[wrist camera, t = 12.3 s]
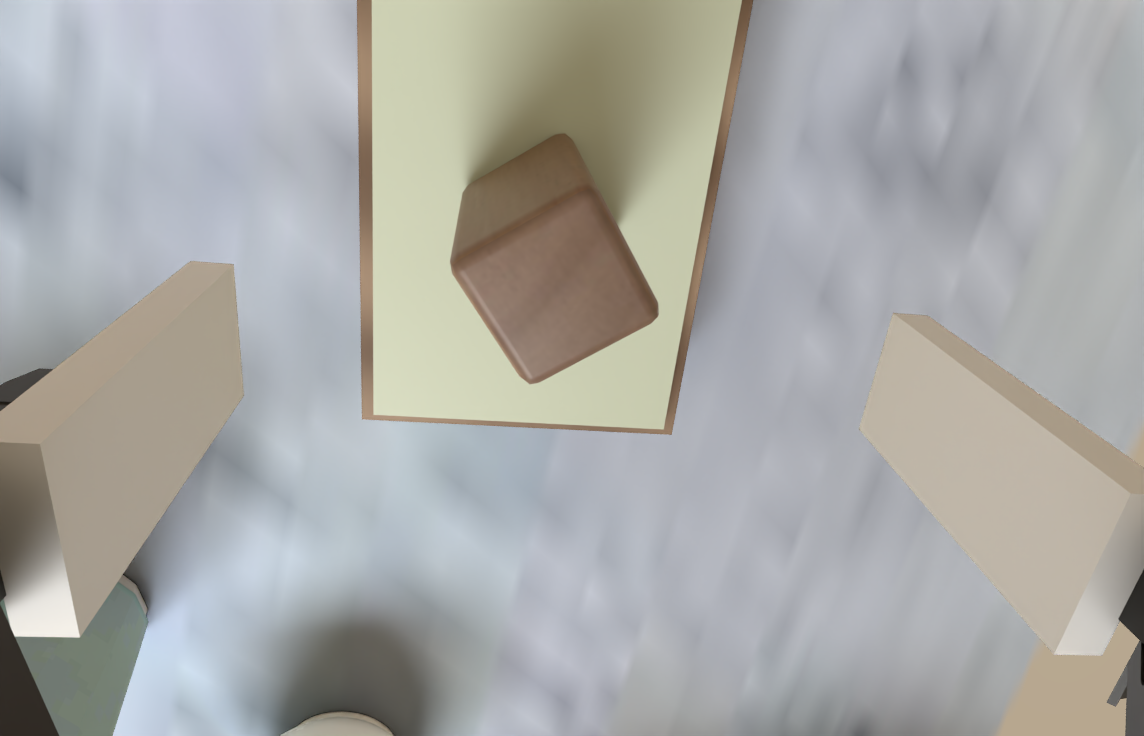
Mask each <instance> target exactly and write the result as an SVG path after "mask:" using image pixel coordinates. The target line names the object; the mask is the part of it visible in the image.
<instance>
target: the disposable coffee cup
mask: <svg viewBox="0 0 1144 736" xmlns="http://www.w3.org/2000/svg"><path fill="white" fill-rule="evenodd" d="M0 605H1V607H2V609H3V611H4V614H5V616H6V618H7V620H8V623H9V625H10V622H9V618H8V615H7V611H6V607H5V603H4V599H3V600H2V601H1V602H0ZM147 610H148V609H147V607H146V605H145V602H144V600H143V598H142V596H141V594H140V592H139V590H138V588H137V585H136V584H135V583H133V582H132V581H130V580H129V579H128V578H126V577H125V576H124V575H122V576H121V578H120V579H119V581H118V582H117V584H116V585H115V587H114V588H113V589H112V591H111V592H110V594H109V595H108V597H107V598H106V600H105V601H104V603H103V604H102V606H101V607H100V609H99V610H98V612H97V613H96V615H95V616H94V618H93V619H92V620H91V622H90V623H89V625H88V626H87V628H86V629H85V631H84V632H83V634H82V635H81V637H80V638H78V637H22V636H15V638H16V640H17V643H18V645H19V647H20V649H21V651H22V654H23V656H24V658H25V660H26V663H27V665H28V667H29V669H30V671H31V674H32V676H33V678H34V680H35V683H36V685H37V687H38V689H39V691H40V694H41V696H42V698H43V700H44V703H45V705H46V707H47V709H48V712H49V714H50V716H51V718H52V720H53V723H54V725H55V727H56V729H57V732H58V734H59V736H113V732H114V729H115V726H116V723H117V720H118V717H119V714H120V710H121V707H122V704H123V701H124V698H125V695H126V692H127V688H128V685H129V682H130V679H131V676H132V673H133V670H134V666H135V663H136V660H137V657H138V654H139V651H140V648H141V644H142V641H143V638H144V634H145V631H146V628H147V624H148V620H147V617H146V613H147ZM10 627H11V626H10Z"/></svg>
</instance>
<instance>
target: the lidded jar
mask: <svg viewBox="0 0 1144 736" xmlns="http://www.w3.org/2000/svg"><path fill="white" fill-rule="evenodd" d="M280 736H394V735H393V733H392V732H391V731H390V730H389V729H388V728H387V727H386V726H385V725H384V724H383V723H381V722H380V721H378V720H376V719H374V718H372V717H369V716H367V715H363V714H359V713H354V712H342V711H338V712H328V713H323V714H319V715H316V716H313V717H311V718H309V719H307V720H305V721H303V722H302V723H300V724H299V725H298V726H297V727H295V728H293V729H291V730H289V731H287V732H285V733H283V734H282V735H280Z"/></svg>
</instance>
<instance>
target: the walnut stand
mask: <svg viewBox="0 0 1144 736" xmlns="http://www.w3.org/2000/svg"><path fill="white" fill-rule="evenodd" d="M752 4H753V0H357V36H358V123H359V209H360V295H361V381H362V419H368V420H388V421H408V422H428V423H448V424H468V425H488V426H508V427H528V428H549V429H569V430H589V431H609V432H629V433H649V434H669V435H672V429H673V424H674V419H675V413H676V408H677V403H678V398H679V392H680V387H681V382H682V376H683V371H684V366H685V360H686V355H687V350H688V344H689V339H690V334H691V328H692V323H693V318H694V313H695V307H696V302H697V297H698V291H699V286H700V281H701V275H702V270H703V265H704V259H705V254H706V249H707V243H708V238H709V233H710V227H711V222H712V217H713V212H714V206H715V201H716V196H717V190H718V185H719V180H720V174H721V169H722V164H723V158H724V153H725V148H726V142H727V137H728V132H729V126H730V121H731V116H732V111H733V105H734V100H735V95H736V89H737V84H738V79H739V73H740V68H741V63H742V57H743V52H744V47H745V41H746V36H747V31H748V26H749V20H750V15H751V10H752ZM563 133H565V134H566V135H568V136H569V137H570V138H571V139H572V140H573V141H574V143H575V145H576V147H577V149H578V151H579V153H580V155H581V157H582V159H583V160H584V162H585V164H586V166H587V168H588V170H589V172H590V174H591V176H592V177H593V179H594V181H595V183H596V185H597V187H598V189H599V191H600V193H601V195H602V196H603V198H604V200H605V202H606V204H607V206H608V208H609V210H610V212H611V213H612V215H613V217H614V219H615V221H616V223H617V225H618V227H619V229H620V231H621V233H622V234H623V236H624V238H625V240H626V242H627V244H628V246H629V248H630V250H631V252H632V254H633V255H634V257H635V259H636V261H637V263H638V265H639V267H640V269H641V271H642V273H643V275H644V277H645V278H646V280H647V282H648V284H649V286H650V288H651V290H652V292H653V294H654V296H655V298H656V300H657V301H658V308H659V315H658V317H657V318H656V319H655V320H654V321H653V322H652V323H651V324H649V325H648V326H646V327H644V328H642V329H640V330H638V331H636V332H634V333H632V334H630V335H629V336H627V337H625V338H623V339H621V340H619V341H617V342H615V343H613V344H611V345H610V346H608V347H606V348H604V349H602V350H600V351H598V352H596V353H594V354H593V355H591V356H589V357H587V358H585V359H583V360H581V361H579V362H577V363H575V364H574V365H572V366H570V367H568V368H566V369H564V370H562V371H560V372H558V373H556V374H555V375H553V376H551V377H549V378H547V379H545V380H543V381H541V382H539V383H535V384H529V383H528V382H526V381H525V380H524V379H522V378H521V377H519V375H518V374H517V372H516V371H515V369H514V368H513V366H512V364H511V363H510V361H509V360H508V358H507V357H506V355H505V354H504V352H503V351H502V349H501V348H500V346H499V345H498V343H497V342H496V340H495V339H494V337H493V335H492V334H491V332H490V331H489V329H488V328H487V326H486V325H485V323H484V322H483V320H482V319H481V317H480V316H479V314H478V313H477V311H476V310H475V308H474V306H473V305H472V303H471V302H470V300H469V299H468V297H467V296H466V294H465V293H464V291H463V290H462V288H461V287H460V285H459V284H458V282H457V281H456V279H455V277H454V276H453V274H452V271H451V265H450V258H451V253H452V247H453V242H454V236H455V231H456V226H457V220H458V215H459V209H460V204H461V198H462V193H463V191H464V190H465V188H466V187H467V186H468V185H469V184H470V183H472V182H474V181H476V180H477V179H479V178H481V177H483V176H484V175H486V174H488V173H489V172H491V171H493V170H495V169H496V168H498V167H500V166H502V165H503V164H505V163H507V162H508V161H510V160H512V159H514V158H515V157H517V156H519V155H521V154H522V153H524V152H526V151H528V150H529V149H531V148H533V147H534V146H536V145H538V144H540V143H541V142H543V141H545V140H547V139H548V138H550V137H552V136H554V135H555V134H563Z"/></svg>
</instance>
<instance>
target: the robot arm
mask: <svg viewBox="0 0 1144 736" xmlns="http://www.w3.org/2000/svg"><path fill="white" fill-rule="evenodd" d="M243 396H244V392H243V379H242V366H241V353H240V341H239V328H238V315H237V302H236V290H235V277H234V264H223V263H210V262H196V261H190V262H189V263H187V264H186V265H185V266H184V267H182V268H181V269H180V270H179V271H177V272H176V273H175V274H174V275H172V276H171V277H170V278H168V279H167V280H166V281H165V282H163V283H162V284H161V285H160V286H158V287H157V288H156V289H155V290H153V291H152V292H151V293H150V294H148V295H147V296H146V297H144V298H143V299H142V300H141V301H139V302H138V303H137V304H136V305H134V306H133V307H132V308H131V309H129V310H128V311H127V312H125V313H124V314H123V315H122V316H120V317H119V318H118V319H117V320H115V321H114V322H113V323H112V324H110V325H109V326H108V327H106V328H105V329H104V330H103V331H101V332H100V333H99V334H98V335H96V336H95V337H94V338H93V339H91V340H90V341H89V342H87V343H86V344H85V345H84V346H82V347H81V348H80V349H79V350H77V351H76V352H75V353H74V354H72V355H71V356H70V357H68V358H67V359H66V360H65V361H63V362H62V363H61V364H60V365H58V366H57V367H56V368H55V369H37V370H35V371H32V372H30V373H27V374H25V375H22V376H20V377H17V378H15V379H12V380H10V381H7V382H5V383H3V384H2V385H1V386H0V602H1V601H2V600H3V599H4V603H5V607H6V611H7V615H8V618H9V622H10V625H9V623H8V620H7V618H6V616H5V614H4V611H3V609H2V607H1V605H0V736H59V734H58V732H57V729H56V727H55V725H54V723H53V720H52V718H51V716H50V714H49V712H48V709H47V707H46V705H45V703H44V700H43V698H42V696H41V694H40V691H39V689H38V687H37V685H36V683H35V680H34V678H33V676H32V674H31V671H30V669H29V667H28V665H27V663H26V660H25V658H24V656H23V654H22V651H21V649H20V647H19V645H18V643H17V640H16V638H15V636H22V637H78V638H80V637H81V635H82V634H83V632H84V631H85V629H86V628H87V626H88V625H89V623H90V622H91V620H92V619H93V618H94V616H95V615H96V613H97V612H98V610H99V609H100V607H101V606H102V604H103V603H104V601H105V600H106V598H107V597H108V595H109V594H110V592H111V591H112V589H113V588H114V587H115V585H116V584H117V582H118V581H119V579H120V578H121V576H122V575H123V573H124V572H125V570H126V569H127V567H128V566H129V564H130V563H131V561H132V560H133V558H134V557H135V556H136V554H137V553H138V551H139V550H140V548H141V547H142V545H143V544H144V542H145V541H146V539H147V538H148V536H149V535H150V533H151V532H152V530H153V529H154V527H155V526H156V525H157V523H158V522H159V520H160V519H161V517H162V516H163V514H164V513H165V511H166V510H167V508H168V507H169V505H170V504H171V502H172V501H173V499H174V498H175V496H176V495H177V494H178V492H179V491H180V489H181V488H182V486H183V485H184V483H185V482H186V480H187V479H188V477H189V476H190V474H191V473H192V471H193V470H194V468H195V467H196V465H197V464H198V463H199V461H200V460H201V458H202V457H203V455H204V454H205V452H206V451H207V449H208V448H209V446H210V445H211V443H212V442H213V440H214V439H215V437H216V436H217V435H218V433H219V432H220V430H221V429H222V427H223V426H224V424H225V423H226V421H227V420H228V418H229V417H230V415H231V414H232V412H233V411H234V409H235V408H236V406H237V405H238V404H239V402H240V401H241V399H242V398H243ZM859 430H860V431H861V432H862V433H863V435H864V436H865V437H866V438H867V439H868V440H869V441H870V443H871V444H872V445H873V446H874V447H875V448H876V450H877V451H878V452H879V453H880V454H881V455H882V457H883V458H884V459H885V460H886V461H887V462H888V463H889V465H890V466H891V467H892V468H893V469H894V470H895V472H896V473H897V474H898V475H899V476H900V477H901V478H902V480H903V481H904V482H905V483H906V484H907V485H908V487H909V488H910V489H911V490H912V491H913V492H914V494H915V495H916V496H917V497H918V498H919V499H920V500H921V502H922V503H923V504H924V505H925V506H926V507H927V509H928V510H929V511H930V512H931V513H932V514H933V515H934V517H935V518H936V519H937V520H938V521H939V522H940V524H941V525H942V526H943V527H944V528H945V529H946V531H947V532H948V533H949V534H950V535H951V536H952V537H953V539H954V540H955V541H956V542H957V543H958V544H959V546H960V547H961V548H962V549H963V550H964V551H965V552H966V554H967V555H968V556H969V557H970V558H971V559H972V561H973V562H974V563H975V564H976V565H977V566H978V568H979V569H980V570H981V571H982V572H983V573H984V574H985V576H986V577H987V578H988V579H989V580H990V581H991V583H992V584H993V585H994V586H995V587H996V588H997V590H998V591H999V592H1000V593H1001V594H1002V595H1003V596H1004V598H1005V599H1006V600H1007V601H1008V602H1009V603H1010V605H1011V606H1012V607H1013V608H1014V609H1015V610H1016V611H1017V613H1018V614H1019V615H1020V616H1021V617H1022V618H1023V620H1024V621H1025V622H1026V623H1027V624H1028V625H1029V627H1030V628H1031V629H1032V630H1033V631H1034V632H1035V633H1036V635H1037V636H1038V637H1039V638H1040V639H1041V640H1042V642H1043V643H1044V644H1045V645H1046V646H1047V647H1048V648H1049V649H1050V651H1051V652H1052V653H1053V654H1054V655H1101V656H1102V655H1103V653H1104V651H1105V649H1106V647H1107V645H1108V643H1109V641H1110V639H1111V637H1112V635H1113V634H1114V632H1115V630H1116V627H1117V626H1118V624H1119V622H1120V621H1121V622H1122V623H1123V624H1124V625H1125V626H1126V627H1127V628H1128V629H1129V630H1130V631H1131V632H1132V633H1133V634H1134V635H1135V636H1136V637H1137V638H1138V639H1139V640H1140V641H1139V643H1138V645H1137V647H1136V648H1135V650H1134V652H1133V654H1132V656H1131V658H1130V660H1129V661H1128V663H1127V665H1126V667H1125V669H1124V671H1123V673H1122V675H1121V676H1120V678H1119V680H1118V682H1117V684H1116V686H1115V688H1114V690H1113V691H1112V693H1111V695H1110V697H1109V699H1108V701H1107V703H1109V704H1111V705H1113V706H1116V705H1117V704H1118V702H1119V700H1120V699H1123V698H1127V703H1126V705H1127V706H1126V735H1125V736H1144V468H1143V467H1142V466H1141V465H1139V464H1138V463H1136V462H1135V461H1133V460H1132V459H1131V458H1129V457H1128V456H1126V455H1125V454H1123V453H1122V452H1121V451H1119V450H1118V449H1116V448H1115V447H1114V446H1112V445H1111V444H1109V443H1108V442H1106V441H1105V440H1104V439H1102V438H1101V437H1099V436H1098V435H1096V434H1095V433H1094V432H1092V431H1091V430H1089V429H1088V428H1087V427H1085V426H1084V425H1082V424H1081V423H1079V422H1078V421H1077V420H1075V419H1074V418H1072V417H1071V416H1069V415H1068V414H1067V413H1065V412H1064V411H1062V410H1061V409H1060V408H1058V407H1057V406H1055V405H1054V404H1052V403H1051V402H1050V401H1048V400H1047V399H1045V398H1044V397H1042V396H1041V395H1040V394H1038V393H1037V392H1035V391H1034V390H1033V389H1031V388H1030V387H1028V386H1027V385H1025V384H1024V383H1023V382H1021V381H1020V380H1018V379H1017V378H1015V377H1014V376H1013V375H1011V374H1010V373H1008V372H1007V371H1006V370H1004V369H1003V368H1001V367H1000V366H998V365H997V364H996V363H994V362H993V361H991V360H990V359H988V358H987V357H986V356H984V355H983V354H981V353H980V352H979V351H977V350H976V349H974V348H973V347H971V346H970V345H969V344H967V343H966V342H964V341H963V340H961V339H960V338H959V337H957V336H956V335H954V334H953V333H952V332H950V331H949V330H947V329H946V328H944V327H943V326H942V325H940V324H939V323H937V322H936V321H934V320H933V319H932V318H930V317H929V316H926V315H913V314H899V313H893V315H892V318H891V322H890V325H889V328H888V332H887V335H886V339H885V342H884V345H883V349H882V352H881V356H880V359H879V362H878V366H877V369H876V372H875V376H874V379H873V383H872V386H871V389H870V393H869V396H868V400H867V403H866V406H865V410H864V413H863V417H862V420H861V423H860V427H859ZM10 626H11V627H10Z"/></svg>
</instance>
